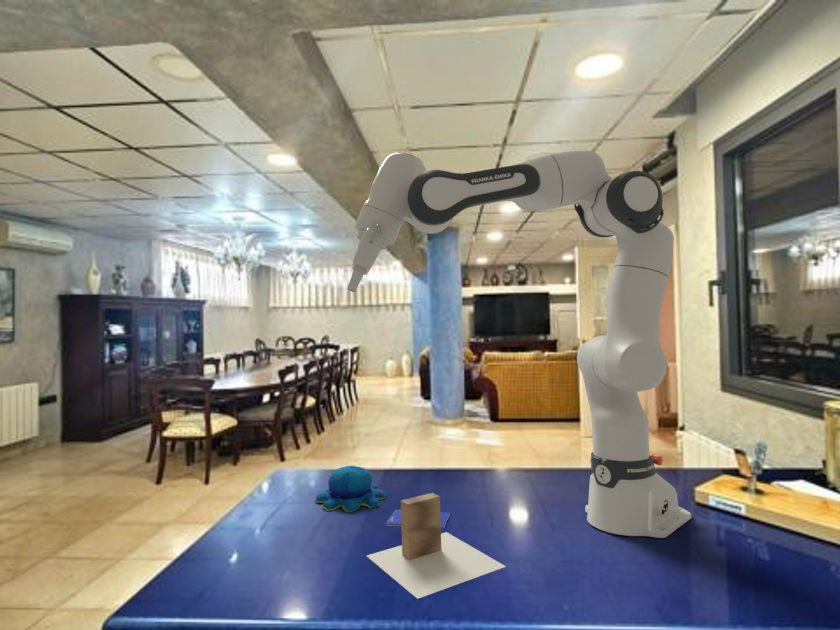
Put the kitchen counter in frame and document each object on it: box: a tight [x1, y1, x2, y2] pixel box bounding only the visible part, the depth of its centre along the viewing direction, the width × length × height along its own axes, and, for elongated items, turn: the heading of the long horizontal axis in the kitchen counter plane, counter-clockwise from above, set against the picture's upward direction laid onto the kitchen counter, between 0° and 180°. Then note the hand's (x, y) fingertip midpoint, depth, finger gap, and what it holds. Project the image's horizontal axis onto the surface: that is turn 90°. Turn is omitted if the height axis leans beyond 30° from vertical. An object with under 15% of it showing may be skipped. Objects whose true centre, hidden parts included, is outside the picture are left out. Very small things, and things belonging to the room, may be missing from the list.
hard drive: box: [385, 509, 451, 530], centre depth 111 cm, size 2×8×12 cm
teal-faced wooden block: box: [400, 492, 442, 560], centre depth 95 cm, size 7×3×10 cm, turn 122°
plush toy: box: [315, 465, 387, 513], centre depth 127 cm, size 17×17×8 cm
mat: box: [366, 531, 507, 600], centre depth 92 cm, size 18×18×1 cm
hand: (351, 290), depth 105 cm, fingers open, 8 cm apart
